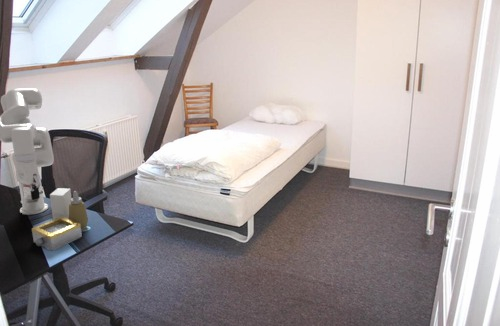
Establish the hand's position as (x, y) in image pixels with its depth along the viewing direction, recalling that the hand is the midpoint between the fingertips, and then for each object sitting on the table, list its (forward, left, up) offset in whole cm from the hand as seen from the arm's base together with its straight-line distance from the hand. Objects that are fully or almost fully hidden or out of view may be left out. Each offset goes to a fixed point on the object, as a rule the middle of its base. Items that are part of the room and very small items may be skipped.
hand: (31, 196), depth 169 cm
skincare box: (-1, +14, -18) cm, 23 cm away
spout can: (0, +1, -2) cm, 2 cm away
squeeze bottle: (+10, +14, -18) cm, 25 cm away
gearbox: (+12, +2, -18) cm, 22 cm away
